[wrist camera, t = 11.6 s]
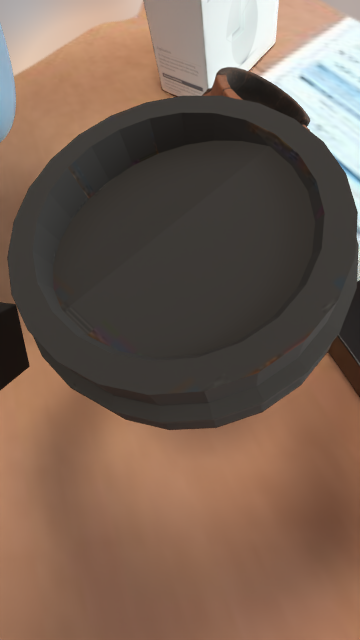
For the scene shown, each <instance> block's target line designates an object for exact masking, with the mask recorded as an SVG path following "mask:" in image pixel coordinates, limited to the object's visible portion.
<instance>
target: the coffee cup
mask: <svg viewBox="0 0 360 640" xmlns="http://www.w3.org/2000/svg"><path fill="white" fill-rule="evenodd" d="M357 214H358V212H357V209H356V206H355V202H354V199H353V196H352V192H351V189H350V186H349V182H348V179H347V176H346V173H345V172H344V170H343V169H342V167H341V166H340V165H339V163H338V162H337V160H336V159H335V158H334V156H333V155H332V153H331V152H330V150H329V149H328V148H327V146H326V145H325V143H324V142H323V141H322V140H320V139H319V138H318V137H317V136H315V135H314V134H313V133H311V132H310V131H309V130H308V129H306V128H305V127H304V126H303V125H301V124H300V123H299V122H298V121H296V120H295V119H294V118H291V117H289V116H287V115H285V114H282V113H280V112H278V111H276V110H273V109H271V108H269V107H267V106H264V105H262V104H260V103H256V102H251V101H246V100H241V99H236V98H231V97H226V96H179V97H174V98H168V99H163V100H157V101H152V102H147V103H144V104H141V105H138V106H136V107H133V108H130V109H128V110H125V111H122V112H120V113H117V114H114V115H112V116H110V117H108V118H106V119H105V120H103V121H101V122H100V123H98V124H96V125H95V126H93V127H91V128H90V129H88V130H86V131H85V132H83V133H81V134H79V135H78V136H77V137H76V138H75V139H74V140H72V141H71V142H70V143H69V144H68V145H67V146H66V147H64V148H63V149H62V150H61V151H60V152H59V153H58V154H56V155H55V156H54V157H53V158H52V159H51V160H50V161H49V163H48V164H47V165H46V167H45V168H44V169H43V170H42V172H41V173H40V174H39V176H38V177H37V178H36V180H35V181H34V182H33V184H32V185H31V186H30V188H29V189H28V191H27V194H26V196H25V198H24V200H23V202H22V205H21V207H20V209H19V211H18V213H17V216H16V218H15V220H14V223H13V229H12V234H11V240H10V246H9V251H8V257H7V258H8V267H9V275H10V284H11V293H12V296H13V298H14V301H15V303H16V305H17V307H18V309H19V312H20V314H21V316H22V318H23V321H24V323H25V325H26V327H27V329H28V331H29V332H30V333H31V334H32V335H33V337H34V339H35V341H36V344H37V346H38V348H39V350H40V352H41V354H42V357H43V358H44V359H45V360H46V361H47V362H48V363H49V364H50V365H51V367H52V368H53V369H54V370H55V371H56V372H57V373H58V374H59V375H60V376H61V378H62V379H63V380H64V381H65V382H66V383H67V384H68V385H69V386H70V387H71V388H72V389H74V390H76V391H77V392H79V393H81V394H82V395H84V396H86V397H88V398H89V399H91V400H93V401H95V402H96V403H98V404H100V405H101V406H103V407H105V408H107V409H108V410H110V411H112V412H114V413H115V414H117V415H119V416H121V417H122V418H124V419H126V420H130V421H134V422H138V423H142V424H147V425H151V426H155V427H159V428H163V429H168V430H179V429H199V428H217V427H220V426H223V425H226V424H229V423H232V422H235V421H238V420H241V419H243V418H246V417H249V416H252V415H255V414H258V413H261V412H263V411H264V410H266V409H267V408H269V407H270V406H272V405H273V404H275V403H276V402H277V401H279V400H280V399H282V398H283V397H285V396H286V395H287V394H289V393H290V392H292V391H293V390H295V389H296V388H298V387H299V386H300V385H301V384H302V383H303V382H304V381H305V379H306V378H307V377H308V376H309V374H310V373H311V372H312V371H313V369H314V368H315V367H316V366H317V364H318V363H319V362H320V360H321V359H322V358H323V357H324V355H325V354H326V353H327V352H328V350H329V348H330V346H331V343H332V342H333V341H334V339H335V338H336V337H337V335H338V334H339V332H340V330H341V328H342V325H343V322H344V320H345V317H346V315H347V312H348V309H349V307H350V304H351V302H352V299H353V296H354V294H355V291H356V289H357V268H358V242H357V238H356V235H357Z"/></svg>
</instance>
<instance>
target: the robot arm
mask: <svg viewBox="0 0 360 640" xmlns="http://www.w3.org/2000/svg"><path fill="white" fill-rule="evenodd" d="M15 109H16V91H15V82H14V76H13V71H12V66H11V61H10V57H9V53H8V49H7V45H6V41H5V38H4V34H3V30H2V27H1V24H0V142H1V141H2V140H4V139H5V137H6V136H7V135H8V133H9V131H10V129H11V127H12V124H13V121H14V117H15ZM28 367H29V362H28V357H27V352H26V348H25V343H24V339H23V334H22V330H21V325H20V320H19V316H18V311H17V307H16V304H9V303H2V302H0V390H1V389H3V388H4V387H5V386H6V385H7V384H9V383H10V382H11V381H12V380H14V379H15V378H16V377H17V376H18V375H20V374H21V373H22V372H23V371H24V370H26V369H27V368H28Z"/></svg>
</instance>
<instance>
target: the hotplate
mask: <svg viewBox="0 0 360 640" xmlns="http://www.w3.org/2000/svg"><path fill="white" fill-rule="evenodd" d="M328 351H329V353H330V354H331V356H332V357H333V359H334V360H335V361H336V363H337V364H338V366H339V367H340V369H341V370H342V372H343V373H344V374H345V376H346V377H347V379H348V380H349V382H350V383H351V385H352V386H353V387H354V389H355V390H356V392H357V393H358V395H359V396H360V281H358V282H357V289H356V291H355V294H354V296H353V299H352V302H351V304H350V307H349V309H348V312H347V315H346V317H345V320H344V322H343V325H342V328H341V330H340V332H339V334H338V335H337V337H336V338H335V339H334V341H333V342H332V343H331V346H330V348H329V350H328Z"/></svg>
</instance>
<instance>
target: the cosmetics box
mask: <svg viewBox="0 0 360 640" xmlns="http://www.w3.org/2000/svg"><path fill="white" fill-rule="evenodd" d="M143 1H144V6H145V10H146V15H147V20H148V24H149V29H150V34H151V39H152V43H153V48H154V53H155V57H156V62H157V67H158V72H159V76H160V81H161V86H162V89H163V90H164V91H166V92H169V93H171V94H174V95H176V96H202V95H203V94H204V93H205V92H206V90H207V89H209V88H212V86H213V83H214V80H215V77H216V73H217V72H218V71H219V70H220V69H222V68H226V67H236V68H240V69H244V70H246V71H249V70H250V69H251V68H252V66H253V65H254V64H255V63H256V62H257V61H258V60H259V59H260V58H261V57H262V56H263V55H264V54H265V53H266V52H267V51H268V50H269V49H270V48H271V47H272V46H273V45H274V44H275V41H276V29H277V15H278V3H279V0H143Z"/></svg>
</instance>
